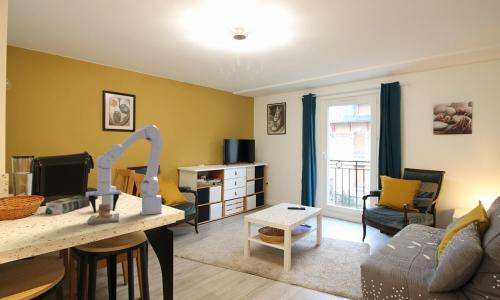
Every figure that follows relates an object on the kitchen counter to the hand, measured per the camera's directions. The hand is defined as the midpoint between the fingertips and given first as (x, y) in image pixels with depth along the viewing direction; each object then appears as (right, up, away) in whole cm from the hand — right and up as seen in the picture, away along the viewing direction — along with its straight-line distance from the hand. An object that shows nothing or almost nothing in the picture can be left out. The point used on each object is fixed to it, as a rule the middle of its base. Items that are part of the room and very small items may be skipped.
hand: (104, 211), depth 130 cm
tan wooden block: (0, -3, 0) cm, 3 cm away
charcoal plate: (0, -4, 0) cm, 4 cm away
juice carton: (-28, -4, +19) cm, 34 cm away
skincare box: (-8, -3, +21) cm, 22 cm away
